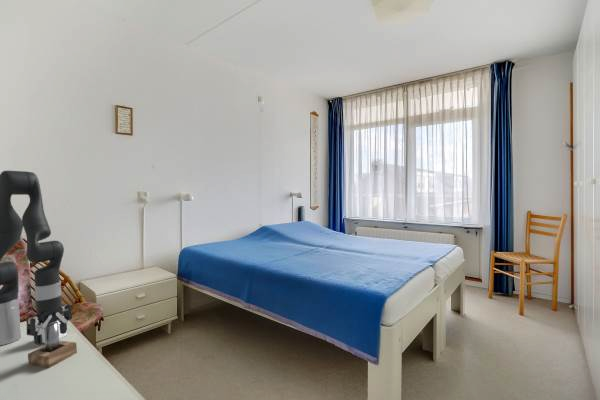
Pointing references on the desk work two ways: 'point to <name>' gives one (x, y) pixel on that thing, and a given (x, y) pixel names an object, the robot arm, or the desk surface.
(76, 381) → the desk surface
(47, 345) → the peg
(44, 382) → the desk surface
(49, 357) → the bore block
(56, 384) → the desk surface
